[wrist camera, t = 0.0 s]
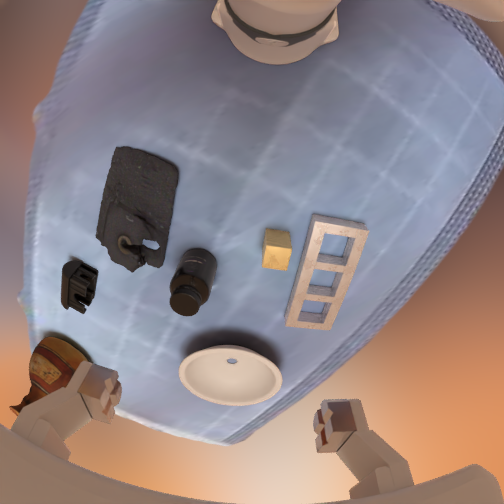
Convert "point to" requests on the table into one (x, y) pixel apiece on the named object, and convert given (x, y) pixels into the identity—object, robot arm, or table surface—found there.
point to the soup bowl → (230, 375)
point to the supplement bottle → (192, 282)
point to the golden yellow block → (276, 249)
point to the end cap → (78, 285)
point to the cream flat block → (324, 262)
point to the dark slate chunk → (136, 208)
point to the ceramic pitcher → (50, 369)
